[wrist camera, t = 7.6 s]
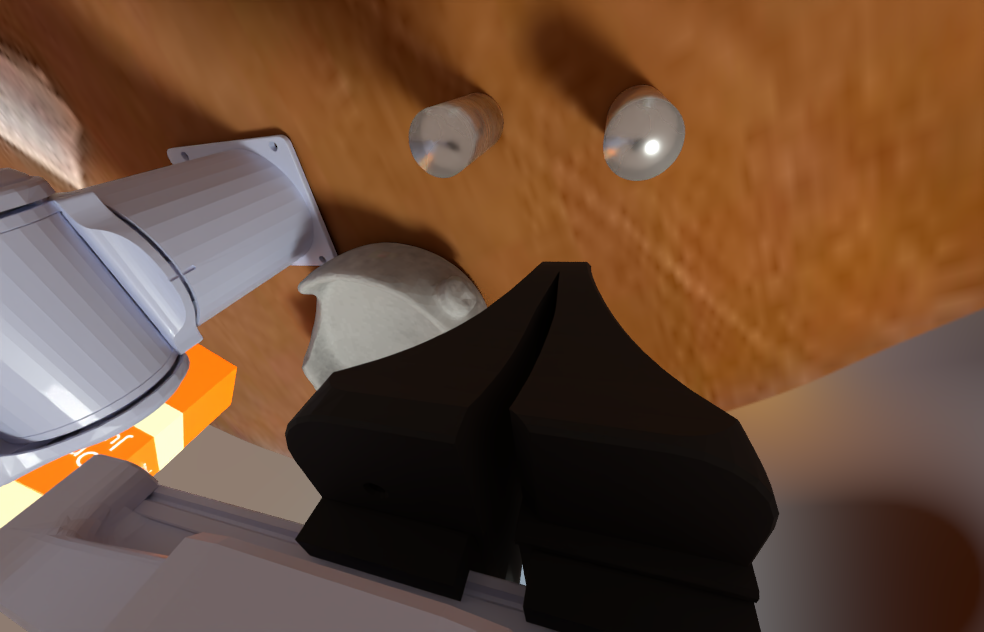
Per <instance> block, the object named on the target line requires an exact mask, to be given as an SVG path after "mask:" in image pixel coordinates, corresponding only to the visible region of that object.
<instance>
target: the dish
mask: <svg viewBox="0 0 984 632" xmlns="http://www.w3.org/2000/svg"><path fill="white" fill-rule="evenodd" d="M298 291H299V292H300V293H302V294H313V295H315V296H316V297H317V306H316V316H315V323H314V326H313V330H312V335H311V340H310V343H309V347H308V349H307V352H306V354H305V357H304V361H303V366H302V369H303V371H304V373H305V375H306V377H307V378H308V380H309V381H310V382H311V383H312V384H313V386H314V388H315V389H316V391H317V390H318V389H319V388H320V387H321V385H322V384H323V383H324V382H325V381H326V380H327V379H328V377H329V376H330V375H331V374H332V373H333V372H335V371H339V370H343V369H347V368H350V367H354V366H357V365H361V364H364V363H367V362H371V361H374V360H378V359H381V358H384V357H387V356H390V355H393V354H395V353H398V352H401V351H404V350H406V349H409V348H411V347H414V346H416V345H419V344H421V343H424V342H426V341H428V340H430V339H432V338H434V337H436V336H439V335H441V334H443V333H445V332H447V331H449V330H451V329H453V328H455V327H457V326H459V325H460V324H462V323H464V322H466V321H467V320H469V319H471V318H472V317H474V316H476V315H477V314H479V313H480V312H482V311H483V310H485V309H486V308H487V306H486V303H485V301H484V299H483V297H482V296H481V294H480V292H479V291H478V289H477V288H476V287H475V285H474V284H473V283H472V281H471V280H470V279H469V278H468V277H467V276H466V275H465V274H464V273H463V272H462V271H461V270H460V269H458V268H457V267H456V266H454V265H453V264H452V263H450V262H448V261H447V260H445V259H444V258H442V257H440V256H439V255H436V254H434V253H432V252H430V251H427V250H424V249H422V248H418V247H415V246H410V245H405V244H400V243H387V242H384V243H375V244H369V245H364V246H361V247H358V248H355V249H352V250H350V251H347V252H345V253H343V254H341V255H339V256H336V257H334V258H333V259H331V260H329V261H327V262H326V263H324V264H323V265H321V266H320V267H318V268H317V269H315V270H314V271H313V272H311V273H310V274H309V275H308V276H307V277H306V278H305V279H304V280H303V281H302V282H300V284H299V285H298Z"/></svg>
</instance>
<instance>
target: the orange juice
mask: <svg viewBox="0 0 984 632" xmlns="http://www.w3.org/2000/svg"><path fill="white" fill-rule="evenodd" d="M185 353H186V354H187V355H188V357H189V361H190V366H189V370H188V372H187V374H186V376H185V378H184V379H183V381H182V382H181V384H180V385H179V387H178V389H177V390H176V391H175V393H174V394H173V395H172V396H171V397H170V398H169V399H168V400H167V401H166V402H165V403H164V404H163V405H162V406H161V407H160V408H158V409H157V410H156V411H155V412H153V413H152V414H151V415H149V416H148V417H147V418H145V419H144V420H142V421H141V422H139V423H137V424H136V425H134V426H133V427H131V428H129V429H127V430H126V431H124V432H122V433H120V434H118V435H116V436H114V437H112V438H110V439H108V440H105V441H103V442H101V443H98V444H95V445H93V446H90V447H87V448H84V449H80V450H77V451H75V452H72V453H70V454H67V455H65V456H63V457H61V458H58V459H56V460H54V461H52V462H50V463H48V464H46V465H43V466H41V467H39V468H37V469H35V470H33V471H32V472H30V473H28V474H26V475H24V476H22V477H20V478H18V479H17V480H15V481H13V482H11V483H9V484H7V485H4V486H2V487H0V528H2V527H3V526H4V525H5V524H7V523H8V522H9V521H11V520H12V519H13V518H14V517H16V516H17V515H18V514H20V513H21V512H22V511H23V510H25V509H26V508H27V507H28V506H30V505H31V504H32V503H34V502H35V501H36V500H37V499H39V498H40V497H41V496H43V495H44V494H45V493H46V492H48V491H49V490H50V489H51V488H53V487H54V486H55V485H57V484H58V483H59V482H60V481H62V480H63V479H64V478H66V477H67V476H68V475H69V474H71V473H72V472H73V471H75V470H76V469H77V468H78V467H80V466H81V465H82V464H83V463H85V462H86V461H87V460H89V459H90V458H91V457H92V456H94V455H97V454H103V455H107V456H111V457H115V458H119V459H122V460H126V461H129V462H132V463H134V464H136V465H138V466H140V467H142V468H143V469H144V470H146V471H147V472H148V473H150V474H151V475H152V476H154V475H155V474H156V473H157V472H158V471H160V470H161V469H162V468H163V467H164V466H165V465H166V464H167V463H168V462H170V460H172V459H173V458H174V457H175V456H176V455H177V454H178V453H179V452H180V451H181V450H182V449H183V448H184V447H185V446H186V445H187V444H188V443H189V442H190V441H191V440H193V439H194V438H195V437H196V436H197V435H198V434H199V433H200V432H201V431H202V430H203V429H205V428H206V427H207V426H208V425H209V424H210V423H211V422H212V421H213V420H214V419H215V418H216V417H217V416H219V415H220V414H221V413H222V412H223V411H224V410H225V409H226V408H227V407H228V406H229V405H230V404H231V400H232V394H233V388H234V382H235V376H236V370H237V367H236V366H234V365H232V364H231V363H229V362H227V361H226V360H224V359H222V358H221V357H219V356H217V355H216V354H214V353H212V352H211V351H209V350H207V349H206V348H204V347H202V346H201V345H199V344H196V345H195V346H193V347H192V348H190V349H189V350H188V351H186V352H185Z"/></svg>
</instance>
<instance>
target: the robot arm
mask: <svg viewBox="0 0 984 632" xmlns="http://www.w3.org/2000/svg"><path fill="white" fill-rule="evenodd" d="M274 143H275V144H276V145H277V148H278V149H277V148H276V146H275V144H274ZM167 155H168V158H169V159H170V161H171V163H172V164H173V165H170V166H166V167H162V168H159V169H155V170H151V171H147V172H143V173H140V174H136V175H132V176H128V177H125V178H121V179H117V180H113V181H109V182H106V183H102V184H98V185H94V186H91V187H87V188H83V189H79V190H76V191H72V192H63V193H55V191H54V189H53V188H52V187H51V186H50V184H49V183H48V182H47V181H46V180H45V179H44V178H42V177H39V176H29V175H28V174H26V173H23V172H20V171H17V170H14V169H11V168H0V487H2V486H4V485H7V484H9V483H11V482H13V481H15V480H17V479H18V478H20V477H22V476H24V475H26V474H28V473H30V472H32V471H33V470H35V469H37V468H39V467H41V466H43V465H46V464H48V463H50V462H52V461H54V460H56V459H58V458H61V457H63V456H65V455H67V454H70V453H72V452H75V451H77V450H80V449H84V448H87V447H90V446H93V445H95V444H98V443H101V442H103V441H105V440H108V439H110V438H112V437H114V436H116V435H118V434H120V433H122V432H124V431H126V430H127V429H129V428H131V427H133V426H134V425H136V424H137V423H139V422H141V421H142V420H144V419H145V418H147V417H148V416H149V415H151V414H152V413H153V412H155V411H156V410H157V409H158V408H160V407H161V406H162V405H163V404H164V403H165V402H166V401H167V400H168V399H169V398H170V397H171V396H172V395H173V394H174V393H175V391H176V390H177V389H178V387H179V385H180V384H181V382H182V381H183V379H184V378H185V376H186V374H187V372H188V370H189V366H190V361H189V357H188V355H187V354H186V353H185V352H186V351H188V350H189V349H190V348H192V347H193V346H195V345H196V344H197V343H199V342H200V341H202V340H203V337H202V335H201V334H200V332H199V330H198V328H197V327H198V326H200V325H201V324H203V323H204V322H206V321H207V320H209V319H210V318H212V317H213V316H215V315H216V314H218V313H219V312H221V311H222V310H224V309H225V308H227V307H228V306H230V305H231V304H233V303H234V302H236V301H237V300H239V299H240V298H242V297H243V296H245V295H246V294H248V293H249V292H251V291H252V290H254V289H255V288H257V287H258V286H260V285H261V284H263V283H264V282H266V281H267V280H269V279H270V278H272V277H273V276H275V275H276V274H278V273H279V272H281V271H282V270H284V269H285V268H287V267H288V266H290V265H301V266H321V265H323V264H324V263H326V262H327V261H329V260H331V259H333V258H334V257H336V256H337V253H336V251H335V248H334V246H333V243H332V241H331V238H330V236H329V233H328V231H327V229H326V226H325V224H324V221H323V219H322V216H321V214H320V211H319V209H318V206H317V204H316V202H315V199H314V197H313V194H312V192H311V189H310V187H309V184H308V182H307V180H306V177H305V175H304V172H303V170H302V167H301V165H300V162H299V160H298V157H297V155H296V153H295V150H294V148H293V145H292V143H291V141H290V140H289V139H288V138H287V137H286V136H284V135H274V136H265V137H257V138H249V139H241V140H232V141H224V142H216V143H208V144H199V145H191V146H183V147H175V148H170V149H168V150H167ZM324 258H325V259H324ZM285 436H286V441H287V446H288V450H289V451H290V453H291V455H292V456H293V458H294V460H295V461H296V462H297V464H298V465H299V466H300V468H301V469H302V471H303V472H304V473H305V474H306V476H307V477H308V479H309V480H310V481H311V482H312V484H313V485H314V487H315V488H316V489H317V491H318V492H319V493H320V495H321V496H322V499H321V500H320V502H319V503H318V505H317V506H316V508H315V509H314V511H313V513H312V514H311V515H310V517H309V519H308V520H307V522H306V523H305V525H304V524H300V523H296V522H293V521H289V520H285V519H282V518H279V517H275V516H271V515H267V514H264V513H260V512H257V511H253V510H249V509H246V508H242V507H239V506H235V505H231V504H227V503H224V502H221V501H217V500H213V499H209V498H206V497H202V496H199V495H195V494H191V493H188V492H184V491H181V490H177V489H173V488H170V487H165V486H162V485H159V484H158V481H157V480H156V479H155V478H154V477H153V476H152V475H151V474H150V473H148V472H147V471H146V470H144V469H143V468H142V467H140V466H138V465H136V464H134V463H132V462H129V461H126V460H122V459H119V458H115V457H111V456H107V455H103V454H97V455H94V456H92V457H91V458H90V459H89V460H87V461H86V462H85V463H83V464H82V465H81V466H80V467H78V468H77V469H76V470H75V471H73V472H72V473H71V474H69V475H68V476H67V477H66V478H64V479H63V480H62V481H60V482H59V483H58V484H57V485H55V486H54V487H53V488H51V489H50V490H49V491H48V492H46V493H45V494H44V495H43V496H41V497H40V498H39V499H37V500H36V501H35V502H34V503H32V504H31V505H30V506H28V507H27V508H26V509H25V510H23V511H22V512H21V513H20V514H18V515H17V516H16V517H14V518H13V519H12V520H11V521H9V522H8V523H7V524H5V525H4V526H3V527H2V528H0V612H2V613H3V614H4V615H6V616H7V617H8V618H10V619H11V620H13V621H14V622H16V623H17V624H18V625H20V626H21V627H22V628H24V629H25V630H26V631H28V632H761V630H760V626H759V622H758V618H757V614H756V609H755V605H754V602H755V603H757V601H758V600H759V589H758V585H757V581H756V577H755V574H754V570H753V566H752V562H753V560H754V559H755V557H756V556H757V554H758V553H759V551H760V550H761V548H762V547H763V545H764V543H765V542H766V540H767V539H768V537H769V536H770V534H771V533H772V531H773V530H774V528H775V525H776V522H777V519H778V515H779V512H778V508H777V504H776V501H775V497H774V494H773V490H772V487H771V484H770V482H769V479H768V477H767V475H766V472H765V470H764V467H763V465H762V463H761V461H760V459H759V458H758V456H757V454H756V452H755V450H754V448H753V446H752V444H751V442H750V440H749V439H748V437H747V435H746V433H745V431H744V429H743V428H742V426H741V424H740V422H739V421H738V420H737V419H736V418H734V417H733V416H731V415H729V414H728V413H726V412H725V411H723V410H722V409H720V408H718V407H717V406H715V405H714V404H712V403H710V402H709V401H707V400H706V399H704V398H703V397H701V396H699V395H698V394H696V393H695V392H693V391H692V390H690V389H689V388H687V387H686V386H685V385H683V384H682V383H681V382H679V381H678V380H677V379H675V378H674V377H673V376H671V375H670V374H669V373H667V372H666V371H665V370H664V369H662V368H661V367H660V366H659V365H658V364H657V363H656V362H654V361H653V360H652V359H651V358H650V357H649V356H648V355H647V354H646V353H644V352H643V351H642V350H641V349H640V347H639V346H638V345H637V344H636V343H635V342H634V341H633V340H632V339H631V338H630V337H629V335H628V334H627V333H626V332H625V331H624V330H623V328H622V327H621V326H620V324H619V323H618V322H617V320H616V319H615V318H614V316H613V315H612V313H611V312H610V310H609V309H608V307H607V305H606V304H605V302H604V300H603V298H602V296H601V294H600V292H599V291H598V289H597V286H596V284H595V282H594V279H593V276H592V273H591V266H590V265H589V264H588V263H587V262H542V263H541V264H539V265H538V266H537V267H536V268H535V269H534V270H533V271H532V272H531V273H529V274H528V275H527V276H526V277H525V278H524V279H523V280H522V281H521V282H519V283H518V284H517V285H516V286H515V287H514V288H512V289H511V290H510V291H509V292H508V293H506V294H505V295H504V296H502V297H501V298H500V299H498V300H497V301H496V302H494V303H493V304H492V305H490V306H489V307H488V308H486V309H485V310H483V311H482V312H480V313H479V314H477V315H476V316H474V317H472V318H471V319H469V320H467V321H466V322H464V323H462V324H460V325H459V326H457V327H455V328H453V329H451V330H449V331H447V332H445V333H443V334H441V335H439V336H436V337H434V338H432V339H430V340H428V341H426V342H424V343H421V344H419V345H416V346H414V347H411V348H409V349H406V350H404V351H401V352H398V353H395V354H393V355H390V356H387V357H384V358H381V359H378V360H374V361H371V362H367V363H364V364H361V365H357V366H354V367H350V368H347V369H343V370H339V371H335V372H333V373H332V374H331V375H330V376H329V377H328V379H327V380H326V381H325V382H324V383H323V384H322V385H321V387H320V388H319V389H318V390H317V391H316V392H315V394H314V395H313V396H312V397H311V398H310V399H309V400H308V402H307V403H306V404H305V405H304V406H303V407H302V408H301V410H300V411H299V412H298V413H297V414H296V415H295V417H294V418H293V419H292V420H291V421H290V422H289V423H288V425H287V429H286V432H285ZM522 565H523V570H524V576H525V581H526V586H525V585H521V584H520V577H521V569H522Z"/></svg>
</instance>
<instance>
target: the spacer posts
mask: <svg viewBox="0 0 984 632" xmlns="http://www.w3.org/2000/svg"><path fill="white" fill-rule="evenodd" d="M503 124H504V122H503V115H502V111H501V109H500V107H499V105H498V104H497V102H496V101H495V100H494V99H493V98H492V97H490V96H489V95H487V94H484V93H472V94H469V95H466V96H463V97H459V98H456V99H453V100H450V101H447V102H444V103H441V104H438V105H434V106H431V107H428V108H426V109H423V110H422V111H420V112H419V113H418V114H417V115H416V116H415V118H414V119H413V121H412V123H411V126H410V130H409V144H410V149H411V152H412V154H413V156H414V158H415V160H416V162H417V163H418V164H419V166H420V167H421V168H422V169H423V170H425V171H426V172H427V173H429V174H431V175H433V176H436V177H440V178H448V177H452V176H454V175H456V174H458V173H459V172H460V171H462V170H463V169H464V168H465V167H467V166H468V165H469V164H470V163H472V162H473V161H474V160H476V159H477V158H478V157H479V156H481V155H482V154H483V153H484V152H486V151H487V150H488V149H489V148H491V147H492V146H493V145H494V144H495V143H496V142H497V141H498V140H499V138H500V136H501V134H502V131H503ZM684 138H685V126H684V122H683V119H682V116H681V115H680V113H679V111H678V110H677V109H676V108H675V107H674V106H673V105H672V104H671V103H670V102H669V101H668V100H667V99H666V98H665V96H664V95H663V94H662V93H661V92H660V91H658V90H657V89H656V88H654V87H652V86H649V85H636V86H632V87H630V88H628V89H626V90H624V91H623V92H622V93H620V94H619V95H618V96H617V97H616V99H615V100H614V101H613V103H612V104H611V106H610V108H609V111H608V114H607V120H606V127H605V135H604V143H603V151H604V157H605V160H606V162H607V164H608V166H609V167H610V169H611V170H612V171H613V172H614V173H615V174H616V175H618V176H620V177H622V178H624V179H627V180H633V181H640V180H646V179H650V178H653V177H655V176H657V175H659V174H660V173H662V172H664V171H665V170H666V169H667V168H668V167H669V166H670V165H671V164H672V163H673V162H674V161H675V160H676V158H677V156H678V155H679V153H680V151H681V149H682V146H683V143H684Z"/></svg>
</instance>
